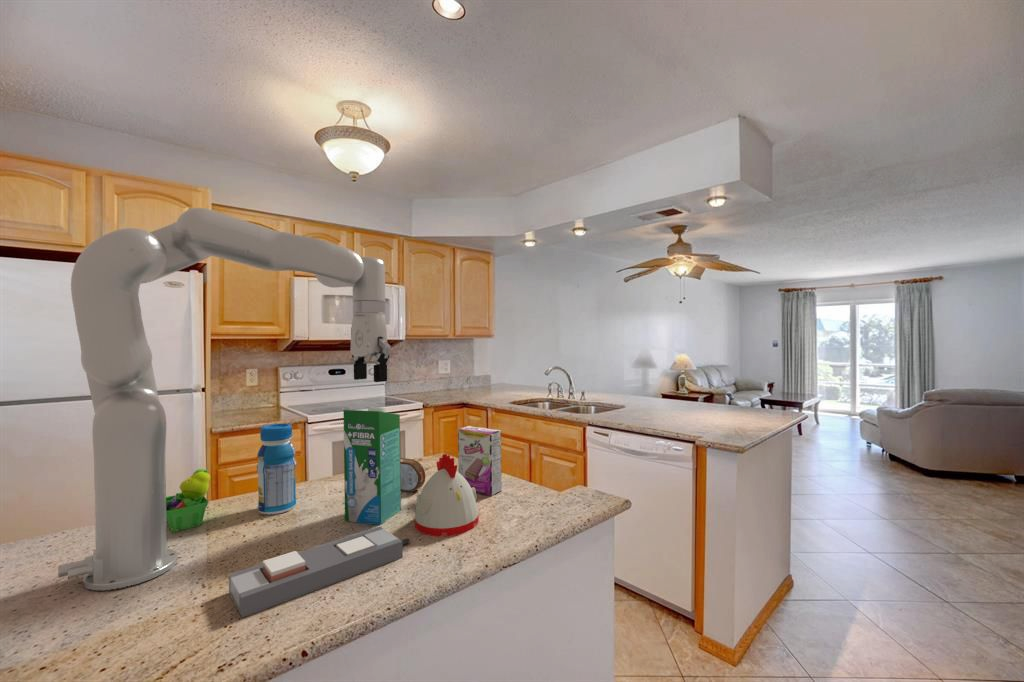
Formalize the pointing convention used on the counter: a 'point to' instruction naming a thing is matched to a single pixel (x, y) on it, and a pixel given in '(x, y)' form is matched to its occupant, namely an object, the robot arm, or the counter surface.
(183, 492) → the fruit basket
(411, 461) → the tin
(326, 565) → the power strip
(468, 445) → the candy bar box
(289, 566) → the outlet button
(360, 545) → the outlet button
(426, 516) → the kitchen timer
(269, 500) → the beverage bottle
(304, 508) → the counter surface
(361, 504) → the milk carton
